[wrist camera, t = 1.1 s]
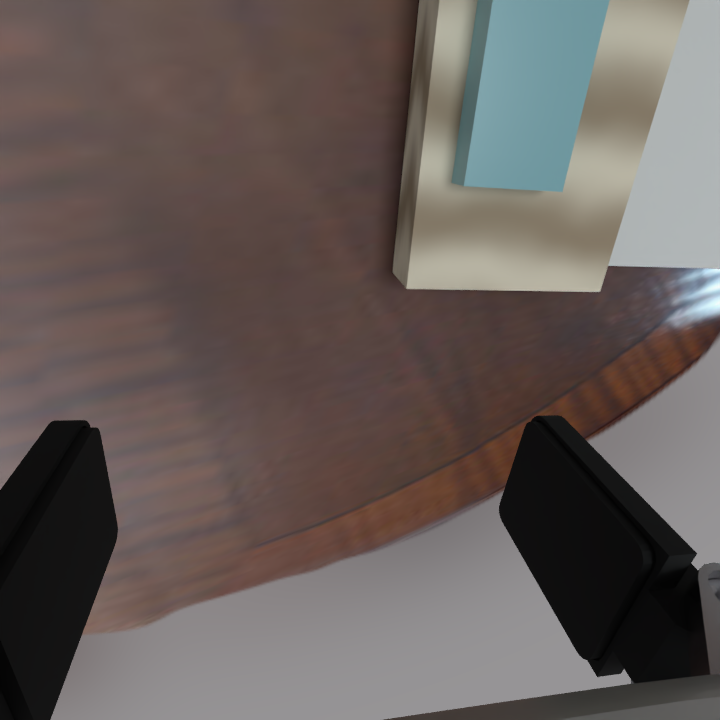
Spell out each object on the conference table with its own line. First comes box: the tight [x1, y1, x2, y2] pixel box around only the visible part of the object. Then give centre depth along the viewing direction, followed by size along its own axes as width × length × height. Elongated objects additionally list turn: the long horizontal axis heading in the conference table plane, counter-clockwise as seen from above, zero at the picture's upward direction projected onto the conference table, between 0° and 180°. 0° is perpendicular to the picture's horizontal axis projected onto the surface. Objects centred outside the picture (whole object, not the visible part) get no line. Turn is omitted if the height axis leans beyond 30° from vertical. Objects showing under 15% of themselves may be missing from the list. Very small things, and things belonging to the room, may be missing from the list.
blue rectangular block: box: [451, 0, 609, 192], centre depth 24 cm, size 9×6×2 cm, turn 176°
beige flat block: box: [392, 0, 690, 292], centre depth 27 cm, size 22×14×4 cm, turn 176°
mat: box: [608, 0, 720, 269], centre depth 31 cm, size 20×13×1 cm, turn 176°
